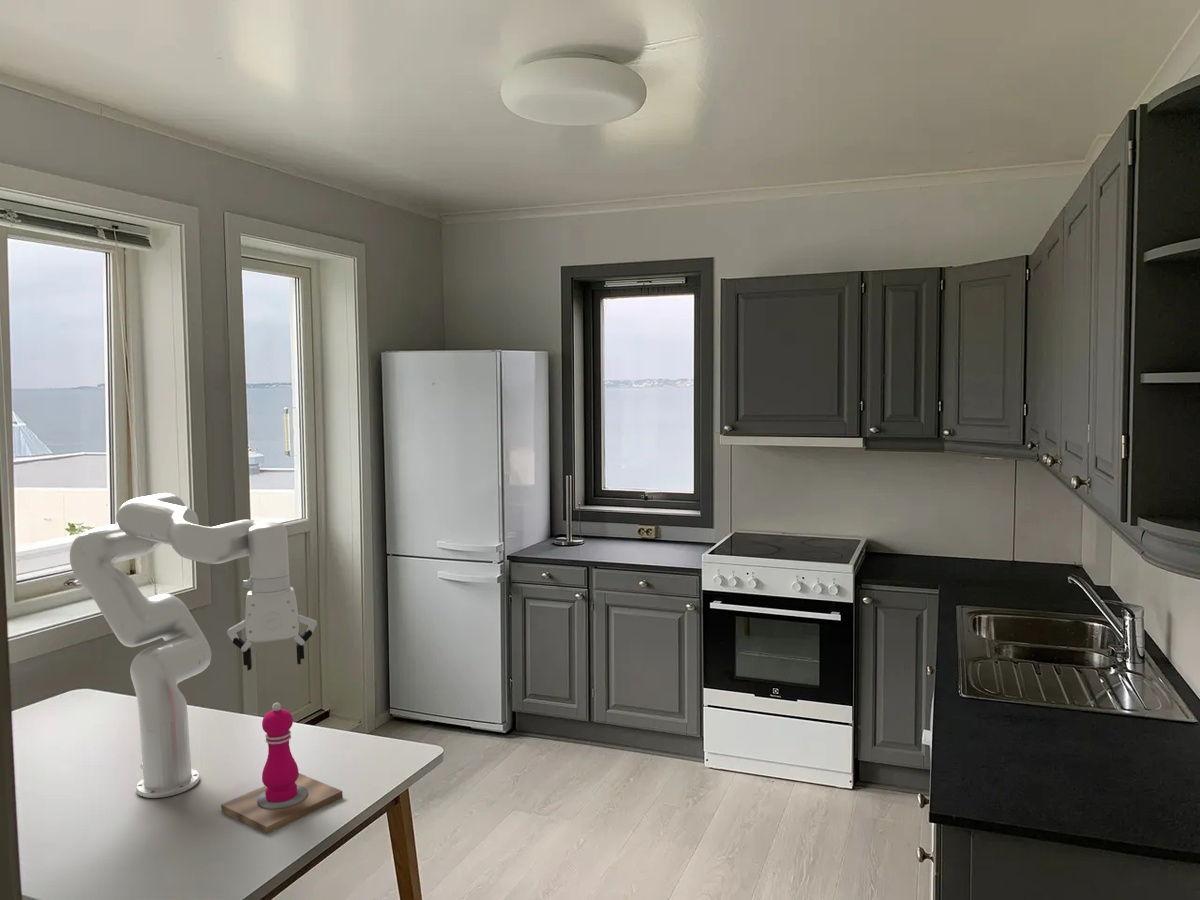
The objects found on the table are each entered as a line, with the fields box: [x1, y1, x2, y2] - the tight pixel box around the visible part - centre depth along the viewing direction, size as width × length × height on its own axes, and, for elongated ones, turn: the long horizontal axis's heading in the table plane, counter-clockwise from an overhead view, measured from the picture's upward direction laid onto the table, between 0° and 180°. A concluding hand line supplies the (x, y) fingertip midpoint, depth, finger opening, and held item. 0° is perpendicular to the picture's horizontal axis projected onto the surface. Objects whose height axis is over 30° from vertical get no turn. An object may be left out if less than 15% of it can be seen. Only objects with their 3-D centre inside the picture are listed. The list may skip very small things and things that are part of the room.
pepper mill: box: [261, 702, 300, 803], centre depth 187 cm, size 7×7×20 cm
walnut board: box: [220, 772, 344, 835], centre depth 188 cm, size 16×18×2 cm
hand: (274, 665), depth 185 cm, fingers open, 9 cm apart
